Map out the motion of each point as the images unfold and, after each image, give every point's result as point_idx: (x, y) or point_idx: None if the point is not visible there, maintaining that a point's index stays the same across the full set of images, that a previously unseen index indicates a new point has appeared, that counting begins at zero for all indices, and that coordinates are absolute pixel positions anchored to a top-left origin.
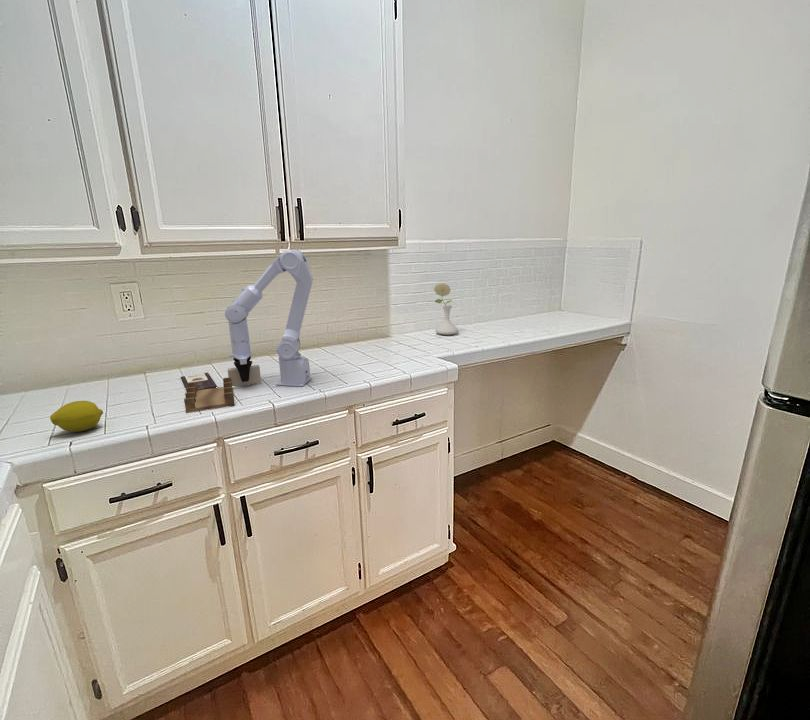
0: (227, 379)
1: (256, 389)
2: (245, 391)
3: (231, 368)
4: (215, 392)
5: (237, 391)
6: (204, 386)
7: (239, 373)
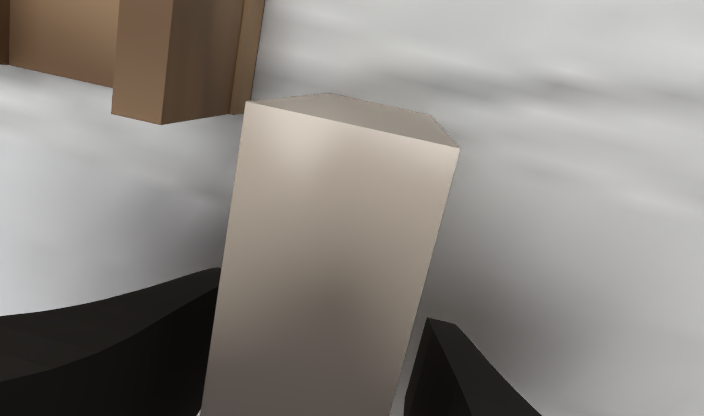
0: (134, 37)
1: None
2: (57, 217)
3: (385, 243)
4: None
5: (104, 136)
6: None
7: (97, 303)
